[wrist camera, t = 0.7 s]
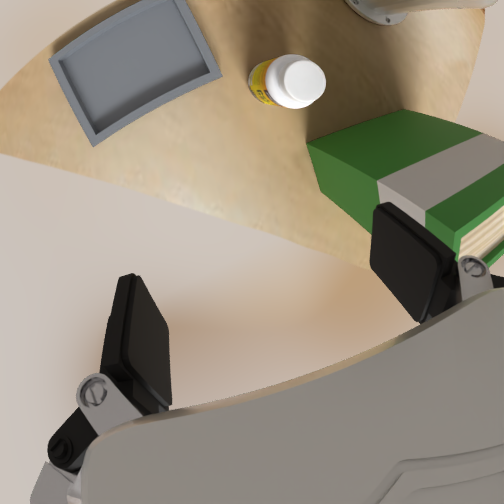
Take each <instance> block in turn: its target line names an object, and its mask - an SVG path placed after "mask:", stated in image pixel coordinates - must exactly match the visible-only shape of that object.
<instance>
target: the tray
mask: <svg viewBox="0 0 504 504" xmlns="http://www.w3.org/2000/svg"><path fill="white" fill-rule="evenodd" d="M48 60H49V63H50V65H51V67H52V69H53V71H54V73H55V76H56V78H57V80H58V82H59V84H60V86H61V88H62V90H63V92H64V94H65V96H66V98H67V100H68V102H69V104H70V106H71V108H72V110H73V112H74V114H75V116H76V117H77V119H78V121H79V123H80V125H81V127H82V128H83V130H84V132H85V134H86V136H87V138H88V139H89V141H90V143H91V145H92V146H93V147H94V146H96V145H97V144H99V143H100V142H102V141H103V140H105V139H106V138H108V137H109V136H111V135H112V134H114V133H115V132H117V131H118V130H120V129H122V128H123V127H125V126H126V125H128V124H130V123H131V122H133V121H135V120H136V119H138V118H140V117H141V116H143V115H145V114H147V113H148V112H150V111H152V110H154V109H156V108H158V107H159V106H161V105H163V104H165V103H167V102H169V101H171V100H173V99H175V98H177V97H179V96H181V95H183V94H185V93H187V92H189V91H191V90H193V89H196V88H198V87H200V86H202V85H204V84H207V83H209V82H211V81H214V80H216V79H218V78H221V77H223V76H222V74H221V72H220V69H219V67H218V65H217V63H216V61H215V59H214V57H213V55H212V53H211V51H210V49H209V47H208V44H207V42H206V40H205V38H204V36H203V34H202V32H201V30H200V28H199V26H198V24H197V22H196V20H195V18H194V16H193V15H192V13H191V11H190V9H189V7H188V5H187V3H186V1H185V0H142V1H139V2H137V3H135V4H133V5H131V6H129V7H127V8H126V9H124V10H122V11H120V12H118V13H116V14H114V15H113V16H111V17H109V18H107V19H106V20H104V21H102V22H101V23H99V24H97V25H96V26H94V27H93V28H91V29H90V30H88V31H86V32H85V33H83V34H82V35H80V36H79V37H78V38H76V39H75V40H73V41H72V42H70V43H69V44H68V45H66V46H65V47H64V48H62V49H61V50H60V51H58V52H57V53H56V54H55V55H53V56H52V57H51V58H50V59H48Z"/></svg>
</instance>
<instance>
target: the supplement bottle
mask: <svg viewBox="0 0 504 504" xmlns="http://www.w3.org/2000/svg"><path fill="white" fill-rule="evenodd" d="M248 85H249V89H250V91H251V93H252V95H253V96H254V97H255V98H256V99H257V100H259V101H261V102H263V103H266V104H270V105H276V106H281V107H286V108H294V109H297V108H303V107H306V106H308V105H310V104H311V103H313V102H314V101H315V100H316V99H318V98H319V97H320V96H321V95H322V94H323V92H324V90H325V86H326V79H325V75H324V73H323V71H322V69H321V68H320V67H319V66H318V65H317V64H315V63H314V62H312V61H311V60H309V59H308V58H306V57H304V56H301V55H297V54H289V55H284V56H280V57H277V58H274V59H271V60H268V61H264V62H262V63H260V64H258V65H257V66H255V67H254V68H253V70H252V71H251V73H250V75H249V79H248Z"/></svg>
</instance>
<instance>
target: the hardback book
mask: <svg viewBox="0 0 504 504" xmlns="http://www.w3.org/2000/svg"><path fill="white" fill-rule="evenodd" d="M306 145H307V148H308V151H309V154H310V157H311V160H312V163H313V167H314V170H315V173H316V177H317V180H318V184H319V187H320V190H321V192H322V193H323V194H324V195H326V196H327V197H328V198H329V199H331V200H332V201H333V202H334V203H335V204H337V205H338V206H339V207H340V208H341V209H343V210H344V211H345V212H346V213H347V214H348V215H350V216H351V217H352V218H353V219H354V220H355V221H357V222H358V223H359V224H360V225H361V226H362V227H363V228H365V229H366V230H367V231H368V232H369V233H370V234H371V235H372V222H373V211H374V209H375V208H376V206H377V205H378V204H381V203H385V202H391V203H393V204H394V205H396V206H397V207H398V208H400V209H401V210H403V211H404V212H405V213H407V214H408V215H409V216H411V217H412V218H413V219H415V220H416V221H417V222H418V223H420V224H421V225H422V226H424V227H425V228H426V229H427V230H429V231H430V232H431V233H432V234H434V235H435V236H436V237H437V238H439V239H440V240H441V241H442V242H443V243H445V244H446V245H447V246H448V247H449V248H451V249H452V250H453V251H454V252H455V253H456V257H455V260H456V261H457V262H458V260H459V258H461V257H462V256H465V255H471V256H475V257H477V258H479V259H481V260H482V261H484V262H485V263H486V265H487V266H488V268H489V267H490V266H491V265H492V264H493V263H494V262H496V261H497V260H498V259H499V258H500V257H501V256H502V255H503V254H504V142H503V141H501V140H499V139H496V138H494V137H492V136H489V135H487V134H484V133H481V132H479V131H476V130H473V129H470V128H468V127H465V126H462V125H459V124H456V123H453V122H450V121H446V120H443V119H440V118H436V117H433V116H429V115H425V114H422V113H418V112H414V111H410V110H405V109H403V110H400V111H397V112H394V113H390V114H387V115H384V116H381V117H378V118H375V119H372V120H369V121H366V122H363V123H360V124H357V125H354V126H351V127H348V128H346V129H343V130H340V131H337V132H335V133H332V134H329V135H327V136H324V137H321V138H319V139H316V140H314V141H311V142H308V143H306Z"/></svg>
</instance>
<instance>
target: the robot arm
mask: <svg viewBox="0 0 504 504" xmlns="http://www.w3.org/2000/svg"><path fill="white" fill-rule="evenodd" d="M345 1H346V2H347V4H348V5H349V6H350V7H351V8H352V9H353V10H354V11H355V12H356V13H358V14H359V15H360V16H362V17H363V18H365V19H367V20H368V21H370V22H373V23H376V24H379V25H394V24H398V23H400V22H402V21H403V20H404V19H405V17H406V16H407V14H408V12H415V11H425V10H436V9H457V8H487V7H490V6H492V5H494V4H495V3H496V2H497V0H345ZM455 257H456V253H455V252H454V251H453V250H452V249H451V248H449V247H448V246H447V245H446V244H445V243H443V242H442V241H441V240H440V239H439V238H437V237H436V236H435V235H434V234H432V233H431V232H430V231H429V230H427V229H426V228H425V227H424V226H422V225H421V224H420V223H418V222H417V221H416V220H415V219H413V218H412V217H411V216H409V215H408V214H407V213H405V212H404V211H403V210H401V209H400V208H398V207H397V206H396V205H394V204H393V203H391V202H385V203H381V204H378V205H377V206H376V208H375V209H374V211H373V222H372V238H371V250H370V266H371V269H372V270H373V271H374V272H375V273H376V274H377V276H378V277H379V278H380V279H381V280H382V282H383V283H384V284H385V285H386V286H387V287H388V289H389V290H390V291H391V292H392V293H393V295H394V296H395V297H396V298H397V299H398V301H399V302H400V303H401V304H402V306H403V307H404V308H405V309H406V311H407V312H408V313H409V314H410V316H411V317H412V318H413V319H414V320H415V321H416V322H419V323H420V324H421V325H419V326H417V327H415V328H413V329H411V330H409V331H407V332H405V333H403V334H402V335H399V336H397V337H395V338H393V339H391V340H389V341H387V342H384V343H382V344H380V345H378V346H376V347H374V348H372V349H369V350H367V351H365V352H362V353H360V354H358V355H355V356H353V357H351V358H348V359H346V360H343V361H341V362H338V363H336V364H333V365H330V366H328V367H325V368H322V369H320V370H317V371H314V372H312V373H309V374H306V375H303V376H300V377H297V378H295V379H291V380H288V381H285V382H282V383H279V384H276V385H273V386H269V387H266V388H262V389H259V390H256V391H252V392H248V393H244V394H241V395H237V396H234V397H229V398H225V399H221V400H216V401H212V402H208V403H204V404H199V405H195V406H190V407H185V408H180V409H175V410H170V411H169V406H170V405H172V392H171V377H170V355H169V330H168V326H167V323H166V321H165V320H164V318H163V316H162V315H161V313H160V311H159V309H158V308H157V306H156V304H155V302H154V300H153V299H152V297H151V295H150V293H149V292H148V289H147V288H146V286H145V284H144V282H143V280H142V278H141V277H140V276H136V275H135V274H133V273H131V274H128V275H125V276H121V277H119V280H118V283H117V288H116V292H115V296H114V301H113V306H112V311H111V316H109V319H108V323H107V329H106V334H105V339H104V345H103V352H102V359H101V365H100V373H95V374H92V375H89V376H88V377H86V378H85V379H84V380H83V381H82V382H81V383H80V385H79V387H78V389H77V394H76V399H77V403H78V405H79V407H78V408H77V409H76V410H75V412H74V413H73V414H72V415H71V416H70V417H69V418H68V419H67V420H66V421H65V423H64V424H63V425H62V426H61V427H60V428H59V429H58V430H57V431H56V432H55V434H54V435H53V436H52V437H51V439H50V440H49V443H48V457H49V459H50V462H49V463H48V462H45V464H44V466H43V468H42V470H41V473H40V475H39V477H38V480H37V482H36V484H35V487H34V489H33V492H32V494H31V498H30V504H504V277H500V276H496V275H492V274H490V271H489V268H488V266H487V265H486V263H485V262H484V261H482V260H481V259H479V258H477V257H475V256H471V255H465V256H462V257H461V258H459V260H458V262H457V261H456V260H455Z"/></svg>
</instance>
